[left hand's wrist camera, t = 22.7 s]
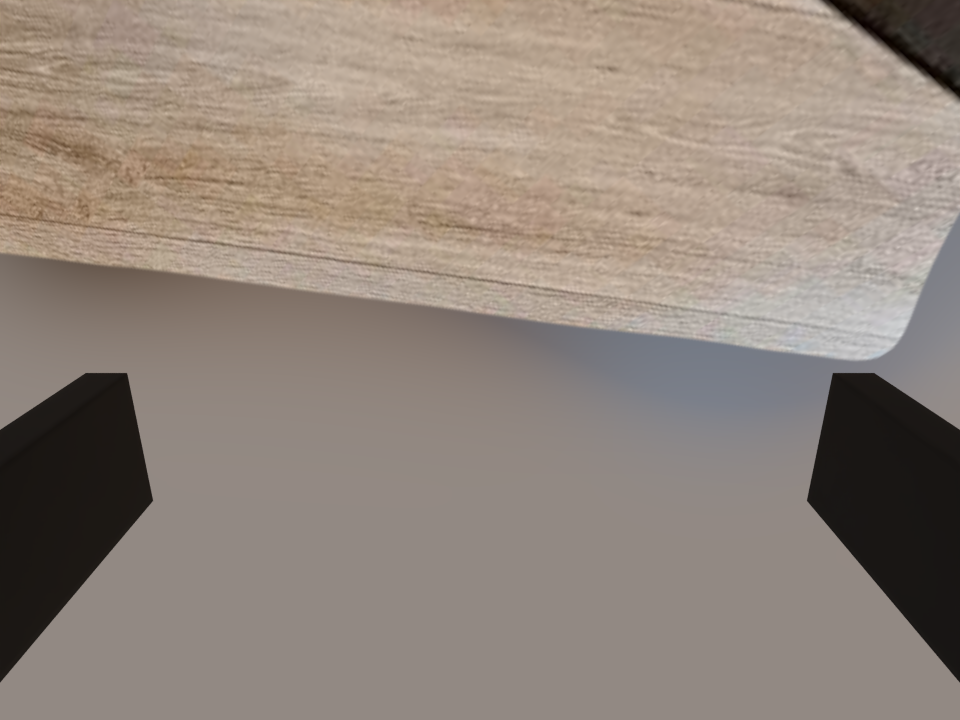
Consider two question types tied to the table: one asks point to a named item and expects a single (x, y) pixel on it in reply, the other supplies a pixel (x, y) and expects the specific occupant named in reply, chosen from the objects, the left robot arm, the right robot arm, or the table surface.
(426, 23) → the table surface
